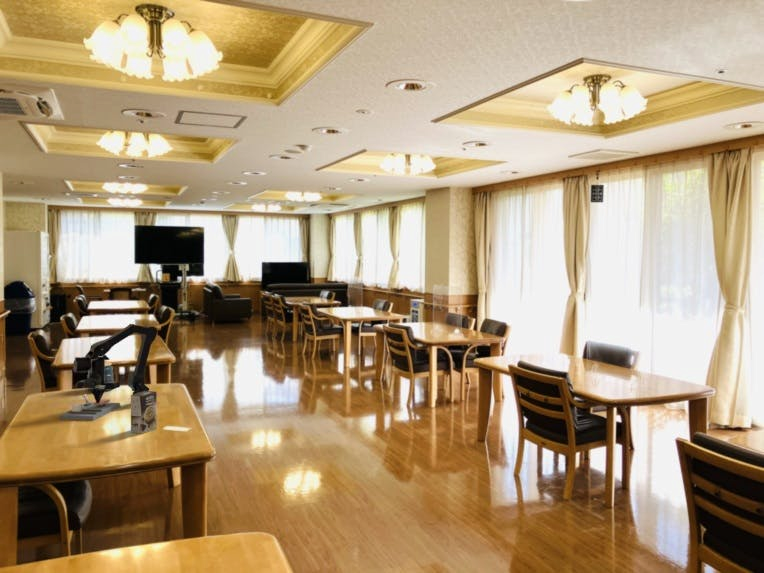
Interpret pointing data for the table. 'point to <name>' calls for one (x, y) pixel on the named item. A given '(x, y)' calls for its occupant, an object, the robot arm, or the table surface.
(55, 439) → the table surface
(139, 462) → the table surface
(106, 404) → the switch panel
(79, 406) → the slider
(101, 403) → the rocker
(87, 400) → the toggle
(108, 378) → the canister
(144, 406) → the coffee box
